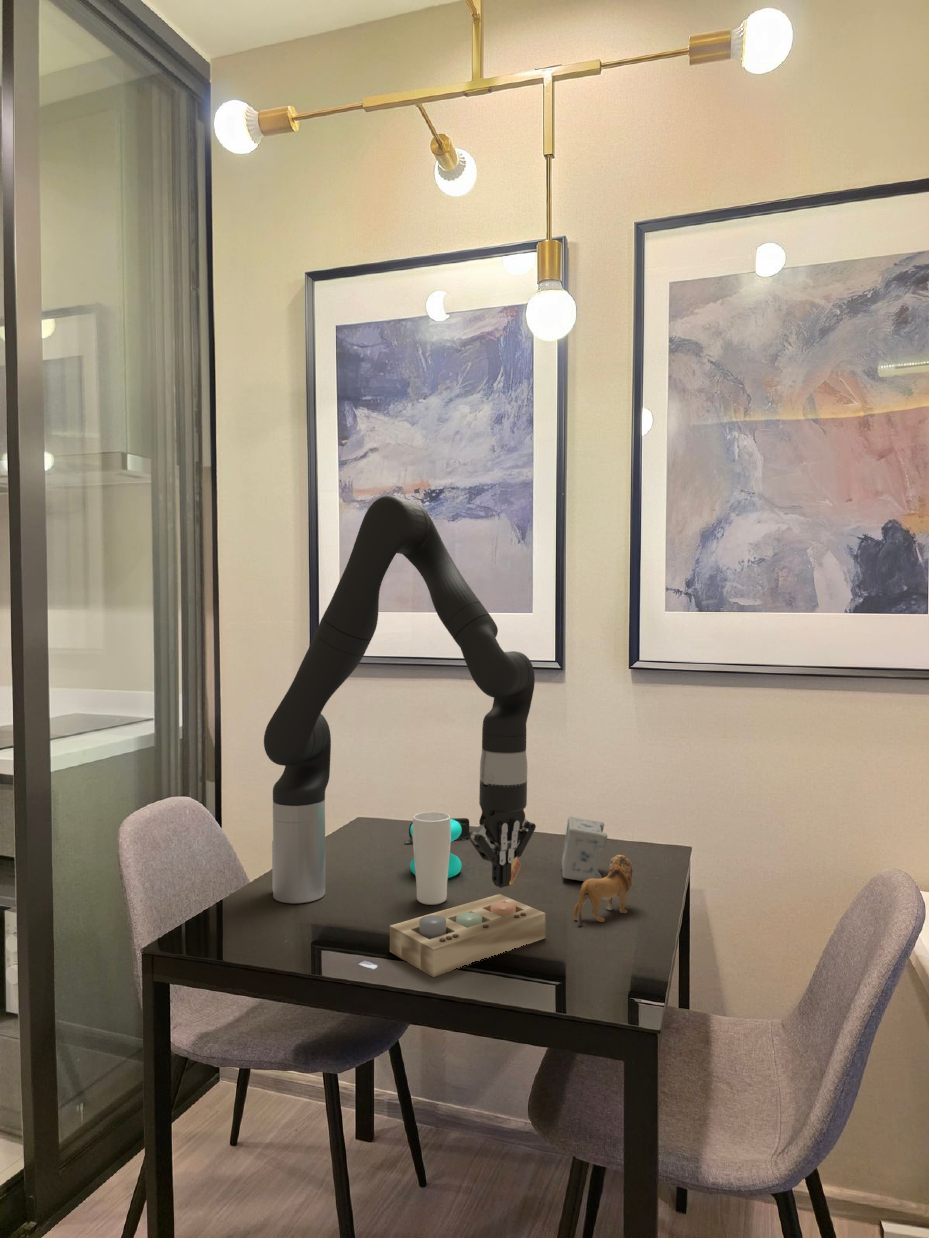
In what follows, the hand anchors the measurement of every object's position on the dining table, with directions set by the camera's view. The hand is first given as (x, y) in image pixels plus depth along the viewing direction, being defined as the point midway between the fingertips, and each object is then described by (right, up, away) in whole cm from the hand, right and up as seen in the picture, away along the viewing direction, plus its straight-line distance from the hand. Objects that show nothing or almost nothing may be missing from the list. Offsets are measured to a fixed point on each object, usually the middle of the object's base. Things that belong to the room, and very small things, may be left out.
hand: (501, 885), depth 136 cm
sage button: (-5, -7, -4) cm, 9 cm away
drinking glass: (-12, -8, +15) cm, 20 cm away
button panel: (-5, -8, -4) cm, 10 cm away
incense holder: (+17, -7, +28) cm, 34 cm away
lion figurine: (+18, -8, +9) cm, 21 cm away
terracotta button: (0, -6, 0) cm, 6 cm away
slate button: (-11, -5, -9) cm, 15 cm away
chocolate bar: (+3, -8, +29) cm, 30 cm away
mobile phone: (-12, -7, +52) cm, 54 cm away
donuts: (-11, -7, +30) cm, 33 cm away
